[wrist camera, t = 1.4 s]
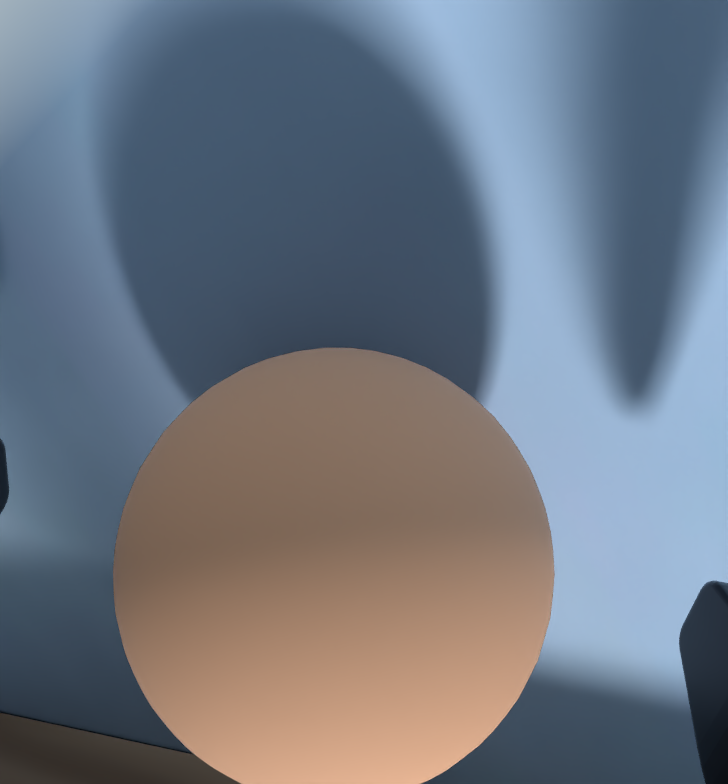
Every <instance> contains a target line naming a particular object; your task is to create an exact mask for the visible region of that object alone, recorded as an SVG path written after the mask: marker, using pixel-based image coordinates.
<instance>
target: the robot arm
mask: <svg viewBox="0 0 728 784" xmlns="http://www.w3.org/2000/svg"><path fill="white" fill-rule="evenodd" d="M8 495H9V483H8V473H7V462H6V452H5V446H4V443H3V441H2V440H1V439H0V514H1V512H2V511H3V509H4V507H5V505H6V503H7V499H8ZM679 646H680V653H681V659H682V665H683V670H684V676H685V681H686V687H687V693H688V698H689V704H690V709H691V715H692V721H693V726H694V732H695V737H696V743H697V749H698V753H699V758H700V763H701V768H702V772H703V775H704V779H705V783H706V784H728V583H724V582H719V581H710V582H707V583H706V584H705V585H704V586H703V587H702V589H701V590H700V592H699V594H698V596H697V598H696V600H695V602H694V604H693V606H692V608H691V610H690V612H689V614H688V616H687V618H686V620H685V622H684V624H683V626H682V628H681V632H680V638H679Z"/></svg>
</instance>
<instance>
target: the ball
mask: <svg viewBox="0 0 728 784" xmlns="http://www.w3.org/2000/svg"><path fill="white" fill-rule="evenodd" d="M553 586H554V558H553V546H552V538H551V531H550V527H549V522H548V518H547V514H546V509H545V506H544V503H543V500H542V498H541V495H540V492H539V489H538V487H537V485H536V482H535V480H534V477H533V475H532V472H531V470H530V468H529V466H528V465H527V463H526V461H525V460H524V458H523V456H522V455H521V453H520V451H519V450H518V448H517V446H516V445H515V443H514V442H513V440H512V439H511V437H510V436H509V435H508V433H507V432H506V431H505V430H504V428H503V427H502V426H501V425H500V423H499V422H498V421H497V420H496V419H495V417H494V416H493V415H492V414H491V413H490V412H488V411H487V410H486V409H485V408H484V407H483V406H482V405H481V404H480V403H479V402H478V401H477V400H476V399H475V398H473V397H472V396H471V395H469V394H468V393H467V392H465V391H464V390H462V389H461V388H460V387H458V386H457V385H455V384H454V383H453V382H451V381H450V380H448V379H447V378H445V377H443V376H441V375H439V374H438V373H436V372H434V371H432V370H430V369H428V368H427V367H424V366H422V365H419V364H417V363H414V362H412V361H409V360H407V359H404V358H401V357H397V356H394V355H390V354H386V353H382V352H378V351H372V350H364V349H357V348H318V349H310V350H301V351H296V352H292V353H288V354H284V355H280V356H276V357H272V358H268V359H265V360H263V361H260V362H258V363H255V364H253V365H250V366H248V367H245V368H243V369H242V370H240V371H238V372H236V373H235V374H233V375H231V376H229V377H228V378H226V379H224V380H222V381H221V382H219V383H217V384H216V385H214V386H212V387H211V388H209V389H208V390H207V391H206V392H204V393H203V394H202V395H201V396H199V397H198V398H197V399H195V400H194V401H193V402H192V403H191V404H190V405H189V406H188V407H187V408H186V409H185V410H184V411H183V412H182V413H181V414H180V415H179V416H178V417H177V418H176V419H175V420H174V421H173V422H172V423H171V424H170V425H169V427H168V428H167V429H166V430H165V431H164V432H163V433H162V435H161V436H160V438H159V439H158V441H157V443H156V444H155V446H154V447H153V449H152V450H151V452H150V453H149V455H148V456H147V458H146V459H145V461H144V462H143V464H142V466H141V467H140V469H139V471H138V474H137V476H136V478H135V481H134V483H133V485H132V487H131V490H130V492H129V495H128V498H127V500H126V503H125V505H124V508H123V512H122V516H121V520H120V524H119V528H118V533H117V539H116V545H115V552H114V565H113V589H114V603H115V613H116V618H117V622H118V627H119V631H120V635H121V639H122V643H123V647H124V651H125V654H126V657H127V659H128V662H129V664H130V666H131V669H132V671H133V673H134V675H135V677H136V679H137V682H138V684H139V686H140V688H141V690H142V692H143V693H144V695H145V697H146V698H147V700H148V702H149V703H150V705H151V707H152V708H153V709H154V711H155V712H156V713H157V715H158V716H159V717H160V718H161V720H162V721H163V722H164V723H165V725H166V726H167V727H168V728H169V729H170V731H171V732H172V733H173V734H174V735H175V736H176V737H177V738H178V739H179V740H180V741H181V742H182V743H183V744H184V746H185V747H186V748H188V749H189V750H190V751H191V752H192V753H194V754H195V755H196V756H197V757H198V758H200V759H201V760H202V761H204V762H205V763H207V764H208V765H210V766H211V767H213V768H214V769H216V770H218V771H219V772H221V773H223V774H224V775H226V776H228V777H230V778H232V779H234V780H235V781H237V782H239V783H241V784H421V783H423V782H426V781H428V780H430V779H432V778H434V777H436V776H437V775H439V774H441V773H443V772H445V771H446V770H448V769H449V768H451V767H452V766H453V765H455V764H456V763H457V762H459V761H460V760H461V759H462V758H464V757H465V756H466V755H468V754H469V753H470V752H472V751H473V750H474V749H475V748H477V747H478V746H479V745H480V744H481V743H482V742H483V741H484V740H485V739H486V738H487V737H488V736H489V735H490V734H491V733H492V732H493V731H494V730H495V728H496V727H497V726H498V725H499V724H500V722H501V721H502V720H503V719H504V718H505V716H506V715H507V714H508V712H509V711H510V709H511V708H512V707H513V705H514V704H515V703H516V701H517V700H518V698H519V696H520V694H521V693H522V691H523V689H524V687H525V685H526V683H527V681H528V679H529V677H530V675H531V673H532V671H533V669H534V667H535V665H536V663H537V661H538V658H539V655H540V651H541V648H542V644H543V641H544V638H545V634H546V631H547V627H548V624H549V621H550V615H551V606H552V597H553Z"/></svg>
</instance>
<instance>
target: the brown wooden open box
mask: <svg viewBox="0 0 728 784" xmlns="http://www.w3.org/2000/svg"><path fill="white" fill-rule="evenodd" d="M0 784H241V783H239V782H237V781H235V780H234V779H232V778H230V777H228V776H226V775H224V774H223V773H221V772H219V771H218V770H216V769H214V768H213V767H211V766H210V765H208V764H207V763H205V762H204V761H202V760H201V759H200V758H198V757H197V756H196V755H193V754H188V753H184V752H179V751H175V750H170V749H165V748H161V747H156V746H151V745H147V744H142V743H138V742H133V741H128V740H124V739H119V738H115V737H110V736H105V735H101V734H96V733H91V732H87V731H82V730H78V729H73V728H68V727H64V726H59V725H54V724H50V723H45V722H41V721H36V720H31V719H27V718H22V717H18V716H13V715H8V714H4V713H0Z"/></svg>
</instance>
